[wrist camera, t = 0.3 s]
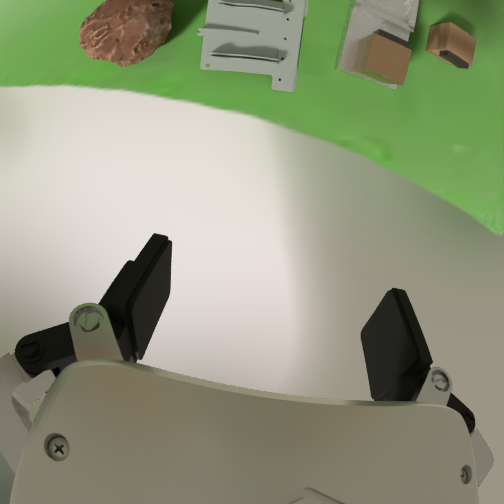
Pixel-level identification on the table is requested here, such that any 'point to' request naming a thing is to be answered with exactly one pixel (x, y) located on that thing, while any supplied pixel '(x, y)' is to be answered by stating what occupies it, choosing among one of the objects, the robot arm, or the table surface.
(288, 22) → the metal bracket
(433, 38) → the wood grain cube
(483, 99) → the table surface
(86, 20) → the decorative rock
